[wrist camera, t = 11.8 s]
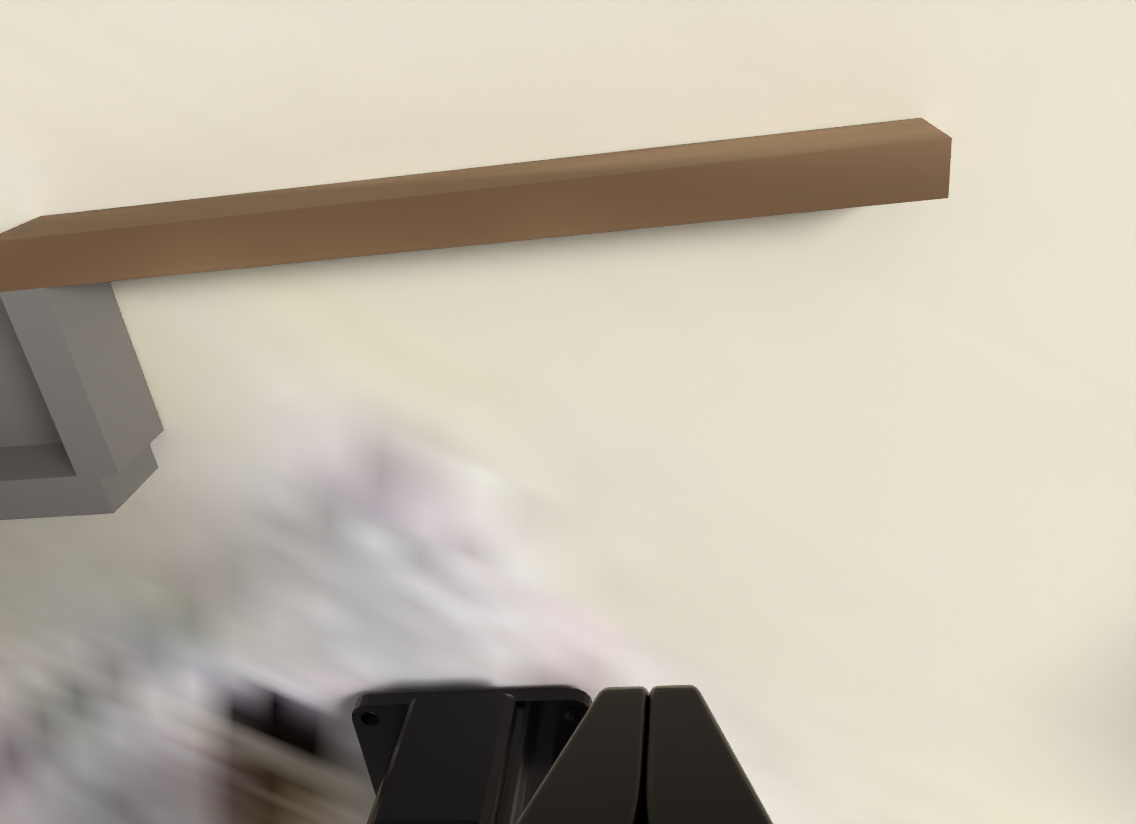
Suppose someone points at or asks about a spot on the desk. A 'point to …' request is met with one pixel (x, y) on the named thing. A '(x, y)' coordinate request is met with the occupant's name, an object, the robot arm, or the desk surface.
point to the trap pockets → (70, 404)
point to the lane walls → (486, 205)
